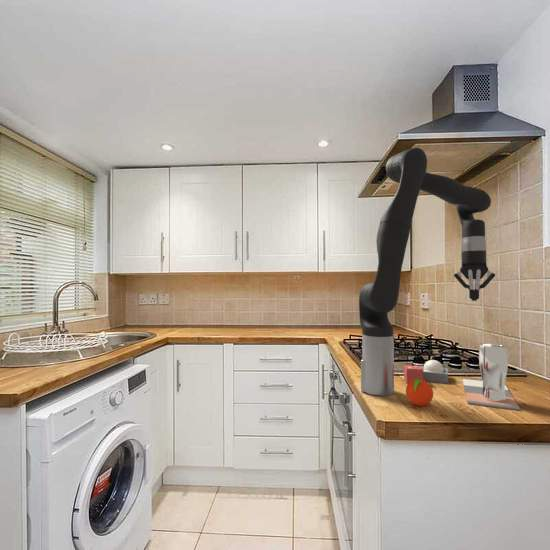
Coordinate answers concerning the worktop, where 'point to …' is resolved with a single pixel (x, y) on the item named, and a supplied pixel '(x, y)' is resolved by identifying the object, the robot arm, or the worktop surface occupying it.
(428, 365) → the dome cap
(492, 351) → the beer glass
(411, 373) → the die
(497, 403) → the game board
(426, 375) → the dome base
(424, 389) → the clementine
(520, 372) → the worktop surface
